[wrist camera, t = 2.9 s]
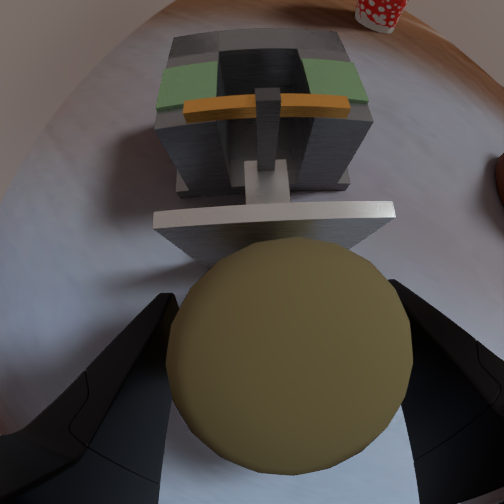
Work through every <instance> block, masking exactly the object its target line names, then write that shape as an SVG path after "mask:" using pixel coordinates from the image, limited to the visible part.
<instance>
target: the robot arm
mask: <svg viewBox="0 0 504 504" xmlns="http://www.w3.org/2000/svg"><path fill="white" fill-rule="evenodd" d="M388 281H389V282H390V284H391V285H392V286H393V287H394V288H395V290H396V292H397V294H398V296H399V298H400V301H401V303H402V305H403V307H404V310H405V312H406V314H407V317H408V319H409V321H410V330H411V341H412V353H413V365H412V370H411V374H410V379H409V383H408V387H407V391H406V395H405V398H404V399H403V401H402V403H401V406H402V410H403V414H404V418H405V423H406V427H407V431H408V436H409V441H410V445H411V450H412V455H413V460H414V467H415V473H416V479H417V486H418V493H419V501H420V504H458V503H460V504H504V361H503V360H502V359H500V358H499V357H498V356H496V355H495V354H494V353H492V352H491V351H490V350H489V349H487V348H486V347H485V346H484V345H482V344H481V343H480V342H479V341H476V339H475V338H473V337H472V336H471V335H470V334H468V333H467V332H466V331H465V330H463V329H462V328H461V327H459V326H458V325H457V324H456V323H454V322H453V321H452V320H450V319H449V318H448V317H446V316H445V315H444V314H442V313H441V312H440V311H438V310H437V309H436V308H434V307H433V306H432V305H430V304H429V303H427V302H426V301H425V300H423V299H422V298H421V297H419V296H418V295H416V294H415V293H414V292H412V291H411V290H409V289H408V288H406V287H405V286H404V285H402V284H401V283H399V282H398V281H396V280H395V279H389V280H388ZM178 311H179V307H178V304H177V301H176V297H175V295H174V294H173V293H160V294H159V295H158V296H156V297H155V298H154V299H153V300H152V301H151V302H150V303H149V304H148V305H147V306H146V307H145V308H144V309H143V310H142V311H141V312H140V313H139V314H138V315H137V316H136V317H135V318H134V319H133V320H132V321H131V322H130V323H129V325H128V326H127V327H126V328H125V329H124V330H123V331H122V332H121V333H120V334H119V335H118V336H117V337H116V338H115V339H114V340H113V341H112V342H111V343H110V344H109V345H108V346H107V347H106V348H105V349H104V350H103V351H102V352H101V353H100V354H99V355H98V357H97V358H96V359H95V360H94V361H93V362H92V363H91V364H90V365H89V366H88V367H87V368H86V371H83V372H82V373H81V374H80V376H79V377H78V378H77V379H76V380H75V381H74V382H73V383H72V384H71V385H70V386H69V387H68V388H67V389H66V390H65V391H64V392H63V393H62V394H61V395H60V396H59V397H58V398H57V399H56V400H55V401H53V402H52V403H51V404H50V405H49V406H48V407H47V408H46V409H45V410H44V411H42V412H41V413H40V414H39V415H38V416H37V417H36V418H35V419H34V420H33V421H31V422H30V423H29V424H28V425H27V426H26V427H24V428H23V429H21V430H19V431H17V432H15V433H12V434H8V435H2V436H0V504H158V500H159V490H160V479H161V471H162V462H163V454H164V447H165V439H166V432H167V425H168V419H169V412H170V406H171V400H172V395H171V390H170V385H169V380H168V374H167V369H166V356H167V349H168V342H169V336H170V329H171V324H172V323H173V321H174V319H175V317H176V315H177V313H178Z"/></svg>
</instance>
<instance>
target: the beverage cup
mask: <svg viewBox="0 0 504 504" xmlns="http://www.w3.org/2000/svg"><path fill="white" fill-rule="evenodd" d="M407 2H408V0H357V6H356V12H355V19H356V20H357V21H358V22H359V23H360V24H362V25H363V26H365V27H367V28H369V29H371V30H373V31H377V32H380V33H386V34H388V33H392V32H393V30H394V28H395V26H396V24H397V22H398V20H399V18H400V16H401V14H402V12H403V10H404V8H405V6H406V4H407Z"/></svg>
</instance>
